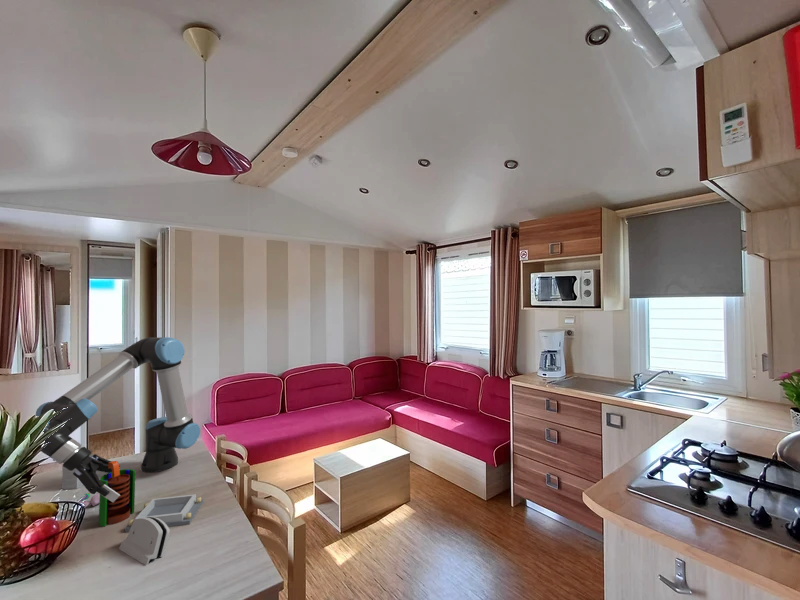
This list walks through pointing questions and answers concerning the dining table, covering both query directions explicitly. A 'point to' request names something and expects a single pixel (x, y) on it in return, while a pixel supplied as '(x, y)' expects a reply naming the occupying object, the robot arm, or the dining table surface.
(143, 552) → the grey arched block
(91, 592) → the dining table surface
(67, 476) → the light bulb box
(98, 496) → the rabbit figure
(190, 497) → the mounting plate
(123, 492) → the motor
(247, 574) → the dining table surface
